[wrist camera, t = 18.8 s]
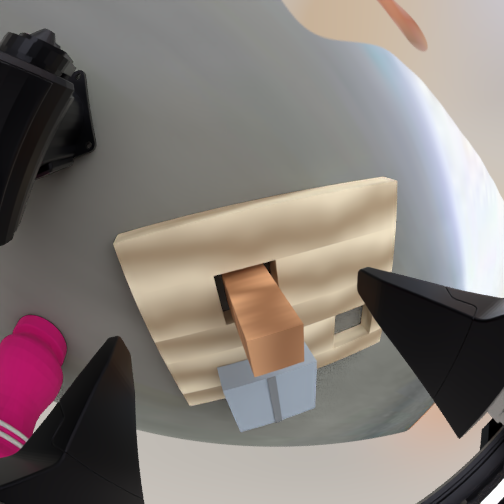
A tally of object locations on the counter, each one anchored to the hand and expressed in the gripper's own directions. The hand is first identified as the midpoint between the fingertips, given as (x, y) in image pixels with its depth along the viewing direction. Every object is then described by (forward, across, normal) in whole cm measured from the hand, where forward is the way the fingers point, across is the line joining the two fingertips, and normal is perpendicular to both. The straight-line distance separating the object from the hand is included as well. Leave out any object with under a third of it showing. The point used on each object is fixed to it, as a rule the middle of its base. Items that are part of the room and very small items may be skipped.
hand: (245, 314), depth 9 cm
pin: (+13, -2, +7) cm, 15 cm away
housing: (+11, -2, +19) cm, 22 cm away
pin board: (+13, -5, +10) cm, 17 cm away
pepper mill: (+13, +20, +8) cm, 25 cm away
